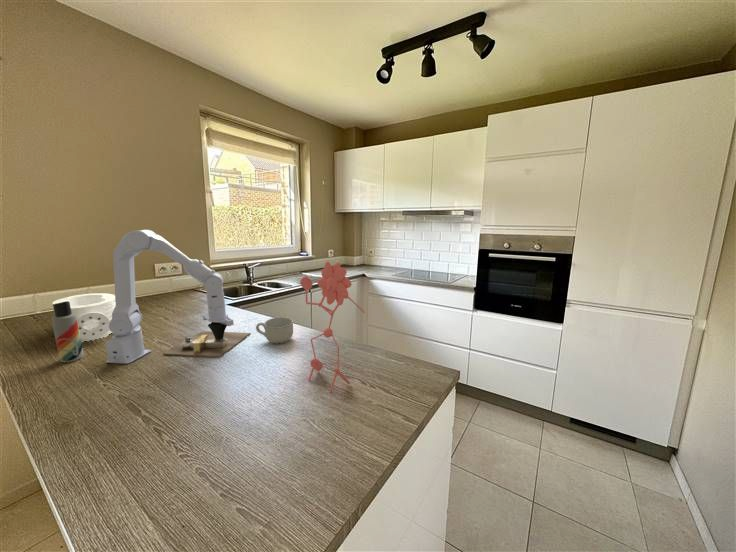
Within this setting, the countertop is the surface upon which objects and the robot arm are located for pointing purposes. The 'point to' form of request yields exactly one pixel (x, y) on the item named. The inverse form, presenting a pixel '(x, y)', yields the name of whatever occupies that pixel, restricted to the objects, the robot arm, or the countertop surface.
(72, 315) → the lotion bottle
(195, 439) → the countertop surface
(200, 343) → the brass keeper
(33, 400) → the countertop surface
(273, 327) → the teacup
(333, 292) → the figurine
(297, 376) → the countertop surface
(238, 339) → the walnut board
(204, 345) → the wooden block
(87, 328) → the housing
